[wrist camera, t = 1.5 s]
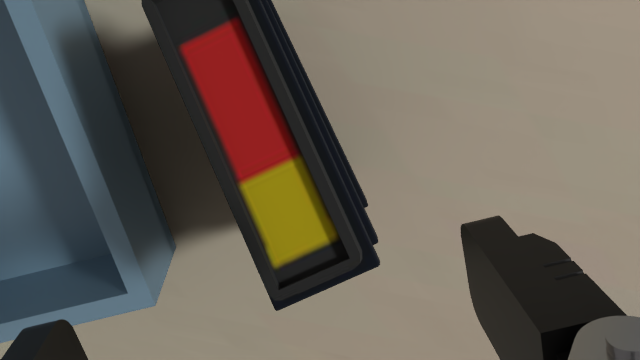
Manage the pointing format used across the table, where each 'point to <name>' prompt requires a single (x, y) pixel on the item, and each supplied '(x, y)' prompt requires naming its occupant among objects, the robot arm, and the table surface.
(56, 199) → the bin
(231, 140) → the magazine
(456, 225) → the table surface
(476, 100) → the table surface
